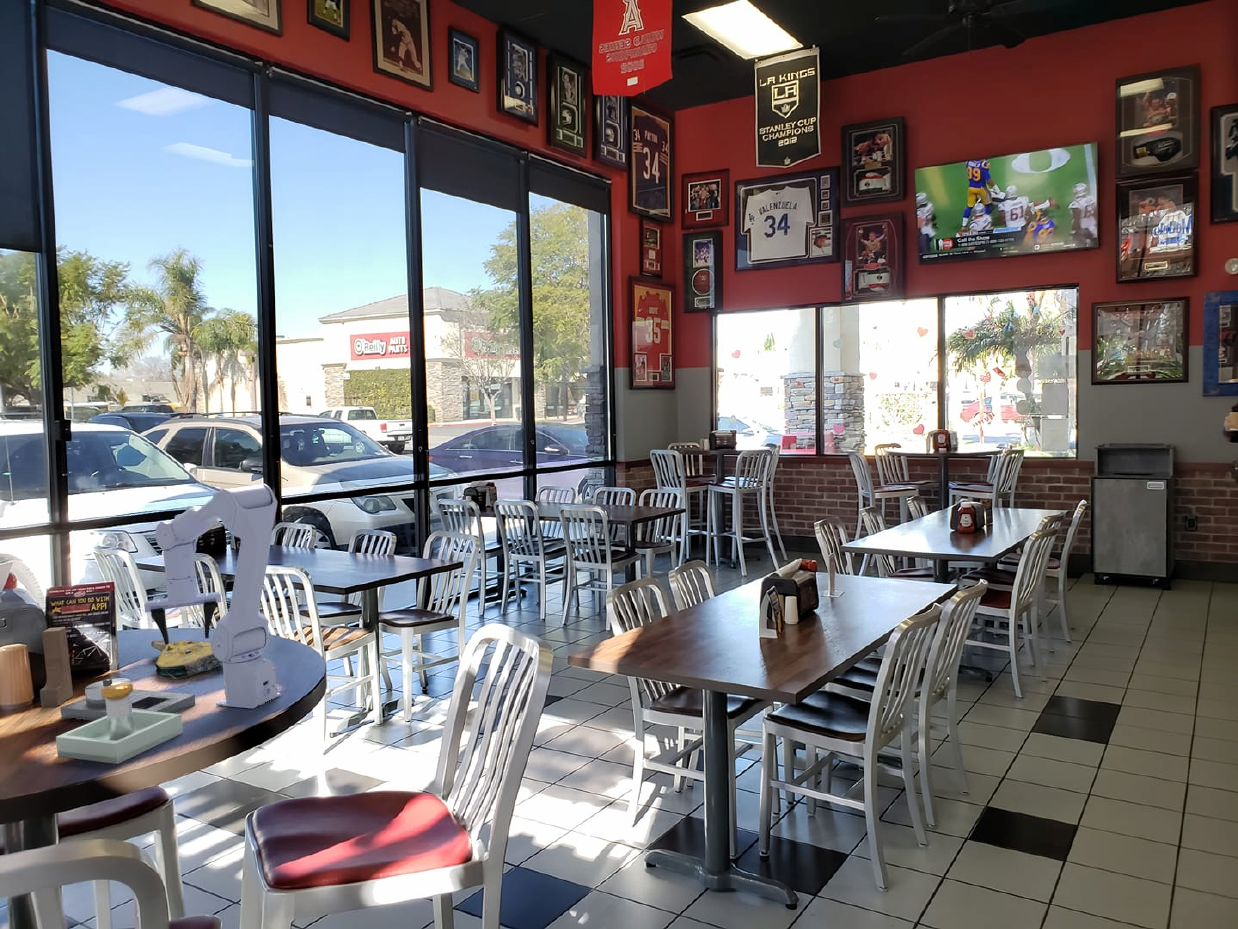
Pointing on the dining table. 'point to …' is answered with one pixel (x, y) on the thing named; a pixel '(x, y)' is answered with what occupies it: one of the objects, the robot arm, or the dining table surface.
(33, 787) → the dining table surface
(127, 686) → the pin
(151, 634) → the dining table surface
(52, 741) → the dining table surface
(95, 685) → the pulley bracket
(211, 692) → the dining table surface
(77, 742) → the tray
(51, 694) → the wooden block
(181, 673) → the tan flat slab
